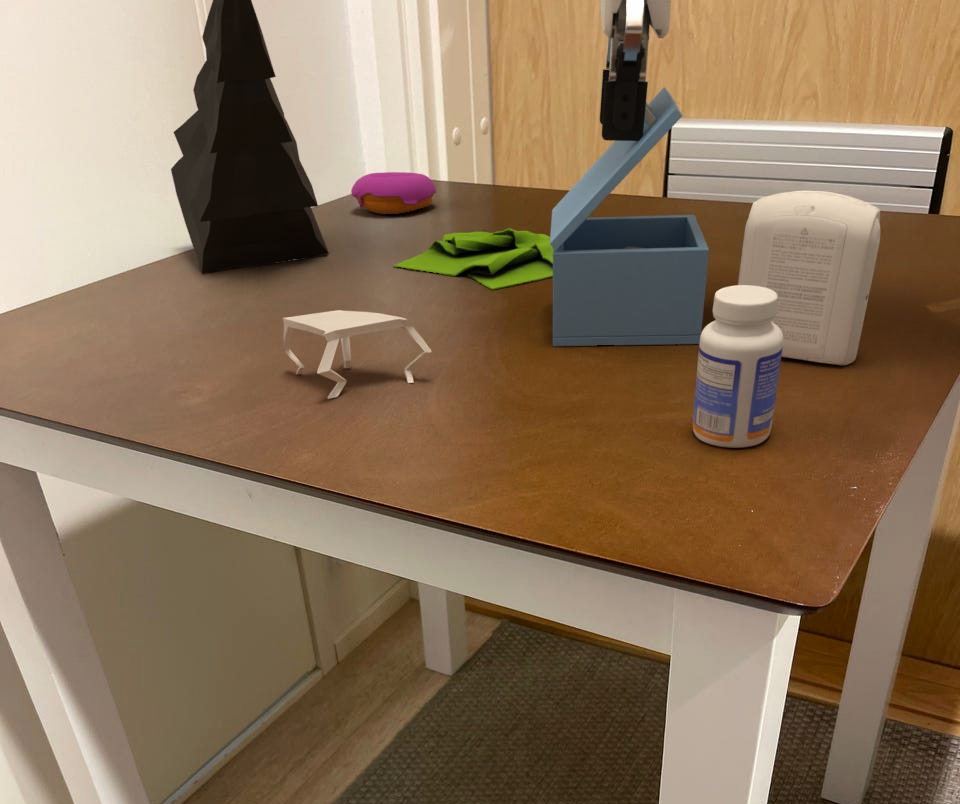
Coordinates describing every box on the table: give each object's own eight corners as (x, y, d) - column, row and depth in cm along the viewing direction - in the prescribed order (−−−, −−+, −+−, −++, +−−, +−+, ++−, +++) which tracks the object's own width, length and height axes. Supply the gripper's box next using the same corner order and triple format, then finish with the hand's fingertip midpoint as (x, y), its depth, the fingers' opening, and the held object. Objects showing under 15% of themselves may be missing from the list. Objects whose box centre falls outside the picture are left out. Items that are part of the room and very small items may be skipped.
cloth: (629, 267, 102) (630, 243, 100) (433, 300, 96) (431, 274, 94) (547, 226, 117) (547, 204, 116) (374, 251, 111) (372, 229, 110)
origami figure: (284, 407, 76) (273, 345, 73) (287, 368, 82) (277, 310, 79) (436, 393, 76) (432, 331, 74) (428, 356, 83) (423, 298, 80)
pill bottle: (758, 416, 70) (777, 278, 65) (779, 448, 66) (801, 304, 60) (684, 420, 70) (695, 283, 65) (700, 452, 66) (714, 308, 60)
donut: (449, 206, 128) (447, 168, 126) (395, 222, 122) (392, 183, 119) (394, 197, 134) (391, 161, 131) (340, 213, 128) (335, 175, 125)
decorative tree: (203, 298, 111) (163, 10, 78) (173, 197, 115) (123, -116, 82) (328, 279, 115) (339, -3, 82) (295, 182, 119) (293, -123, 86)
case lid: (670, 93, 82) (633, 50, 80) (682, 115, 73) (641, 67, 71) (558, 216, 88) (521, 178, 87) (556, 250, 79) (515, 209, 77)
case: (687, 301, 92) (694, 214, 87) (700, 344, 83) (709, 249, 78) (554, 304, 93) (554, 218, 88) (552, 346, 84) (552, 253, 79)
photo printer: (862, 353, 79) (893, 190, 72) (850, 371, 76) (882, 203, 69) (739, 337, 84) (757, 182, 76) (723, 353, 81) (740, 193, 73)
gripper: (710, -162, 61) (675, 154, 72) (685, -148, 75) (658, 115, 85) (591, -161, 61) (573, 152, 72) (587, -148, 75) (573, 114, 86)
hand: (620, 129), depth 79 cm, fingers closed on case lid, 6 cm apart
